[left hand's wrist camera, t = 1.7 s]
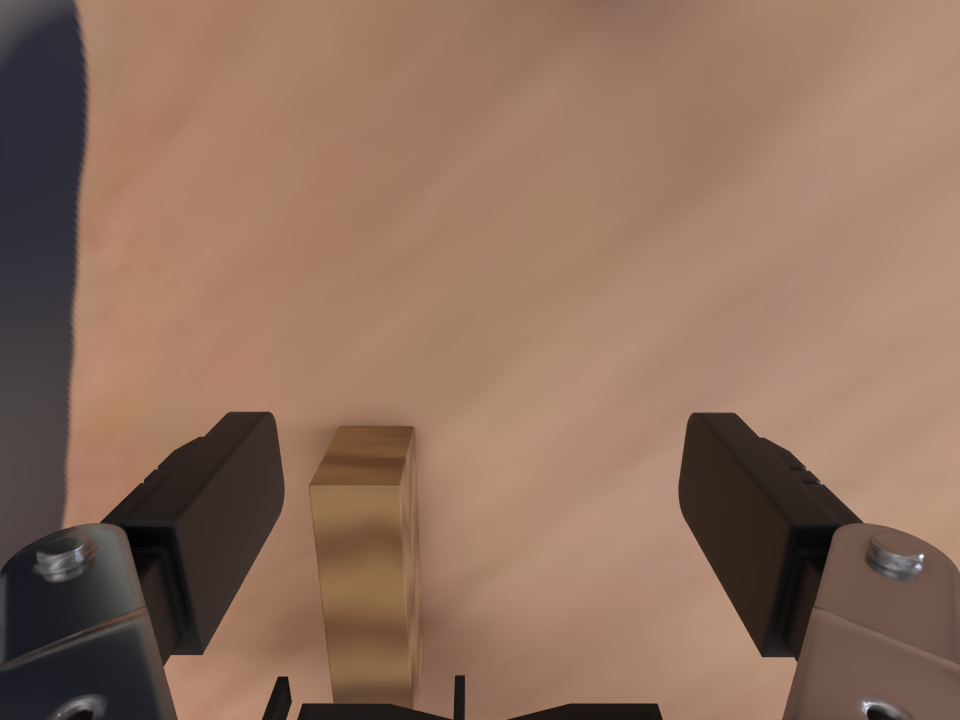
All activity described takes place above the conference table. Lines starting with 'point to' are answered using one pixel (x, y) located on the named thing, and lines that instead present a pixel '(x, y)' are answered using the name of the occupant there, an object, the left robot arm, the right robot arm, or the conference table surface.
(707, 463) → the left robot arm
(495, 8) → the conference table surface
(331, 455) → the bar
